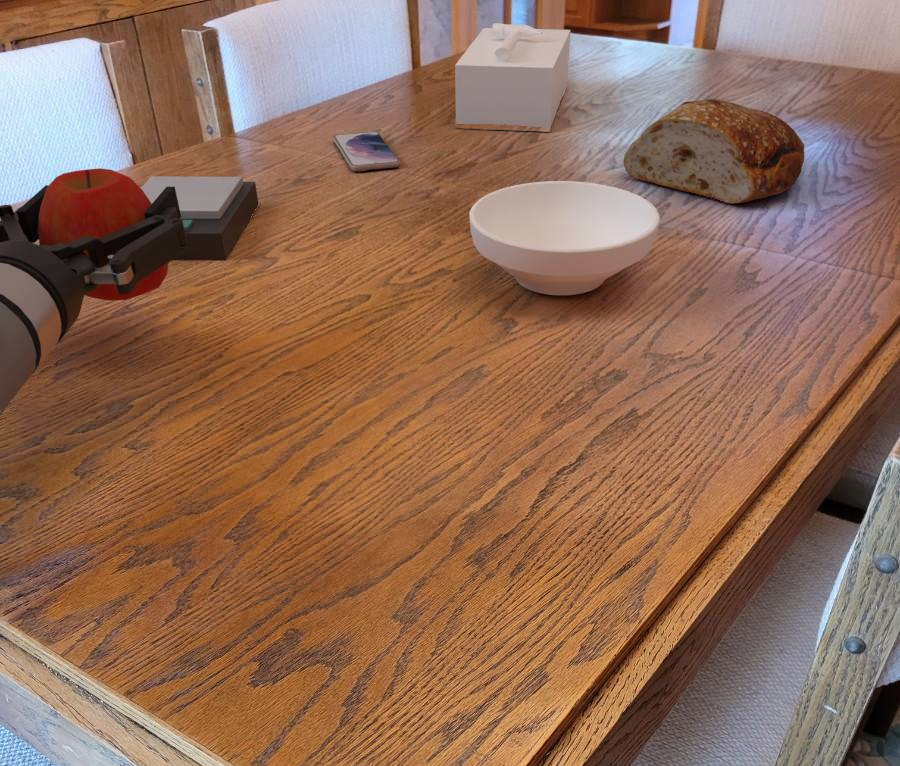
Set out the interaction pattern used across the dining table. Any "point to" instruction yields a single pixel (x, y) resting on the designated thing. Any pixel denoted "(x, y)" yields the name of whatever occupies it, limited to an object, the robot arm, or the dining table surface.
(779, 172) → the bread
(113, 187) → the apple
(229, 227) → the scale
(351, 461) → the dining table surface
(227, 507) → the dining table surface
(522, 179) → the dining table surface
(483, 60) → the tissue box
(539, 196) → the bowl
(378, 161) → the smartphone
